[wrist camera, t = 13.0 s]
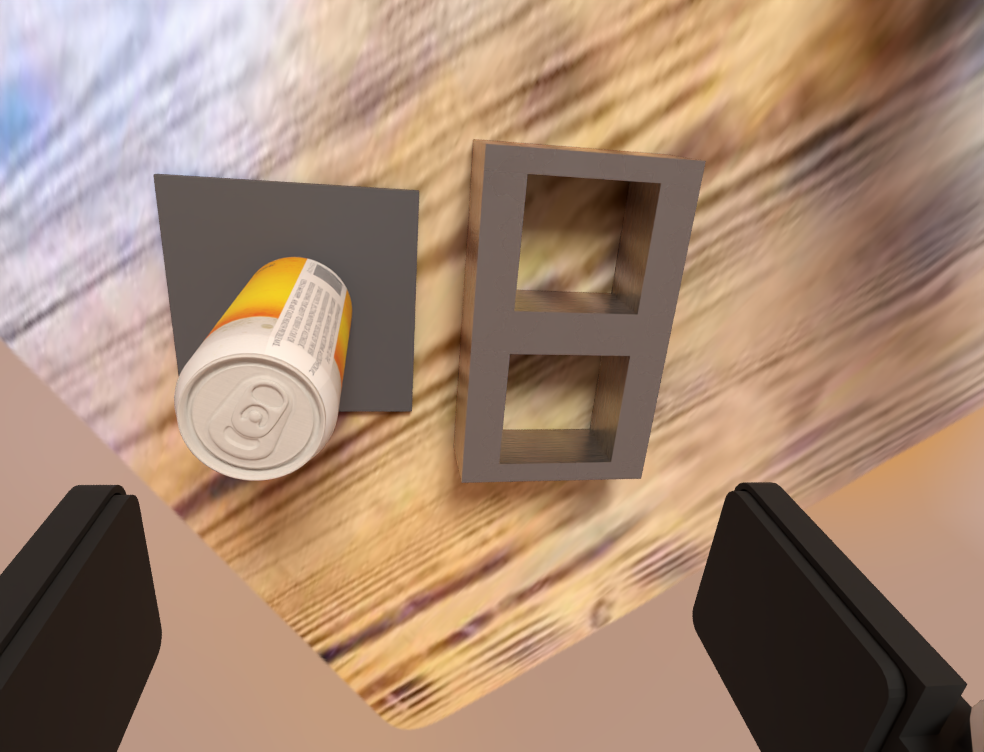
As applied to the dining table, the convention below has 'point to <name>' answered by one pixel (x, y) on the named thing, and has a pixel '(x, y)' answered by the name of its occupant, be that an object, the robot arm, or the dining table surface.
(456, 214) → the dining table surface
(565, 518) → the dining table surface
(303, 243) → the mat
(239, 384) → the beer can
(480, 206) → the cinder block
